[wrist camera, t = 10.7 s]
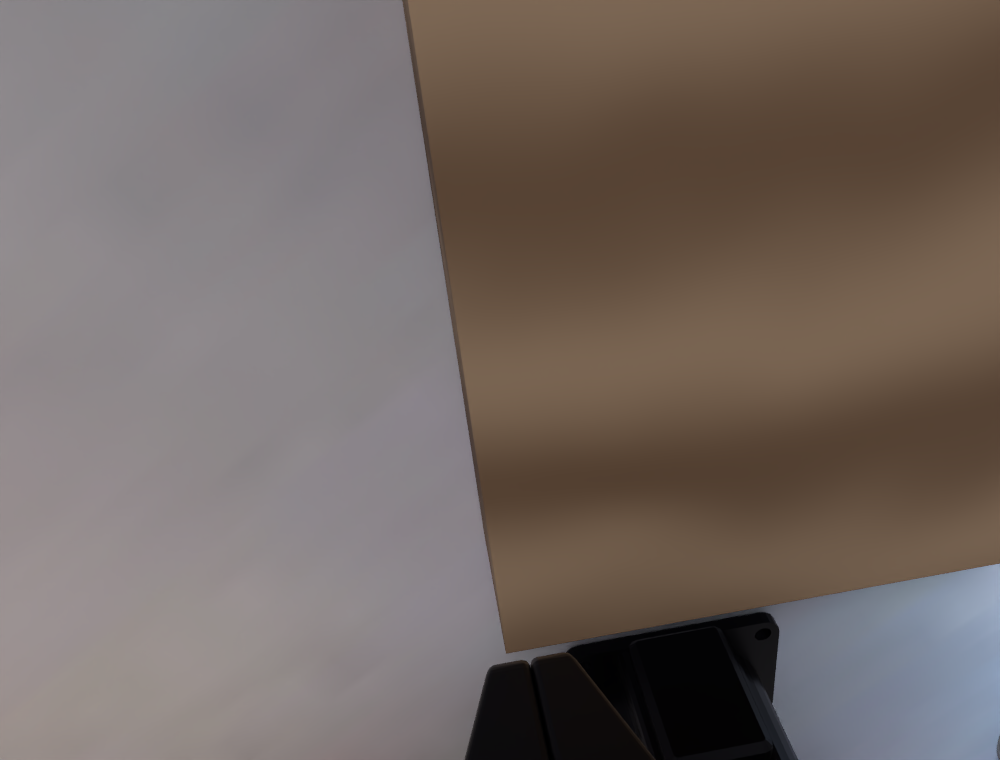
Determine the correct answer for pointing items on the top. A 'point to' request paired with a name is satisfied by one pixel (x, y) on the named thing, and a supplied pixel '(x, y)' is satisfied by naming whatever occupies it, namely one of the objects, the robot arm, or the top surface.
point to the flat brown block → (718, 296)
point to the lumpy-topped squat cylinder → (998, 748)
